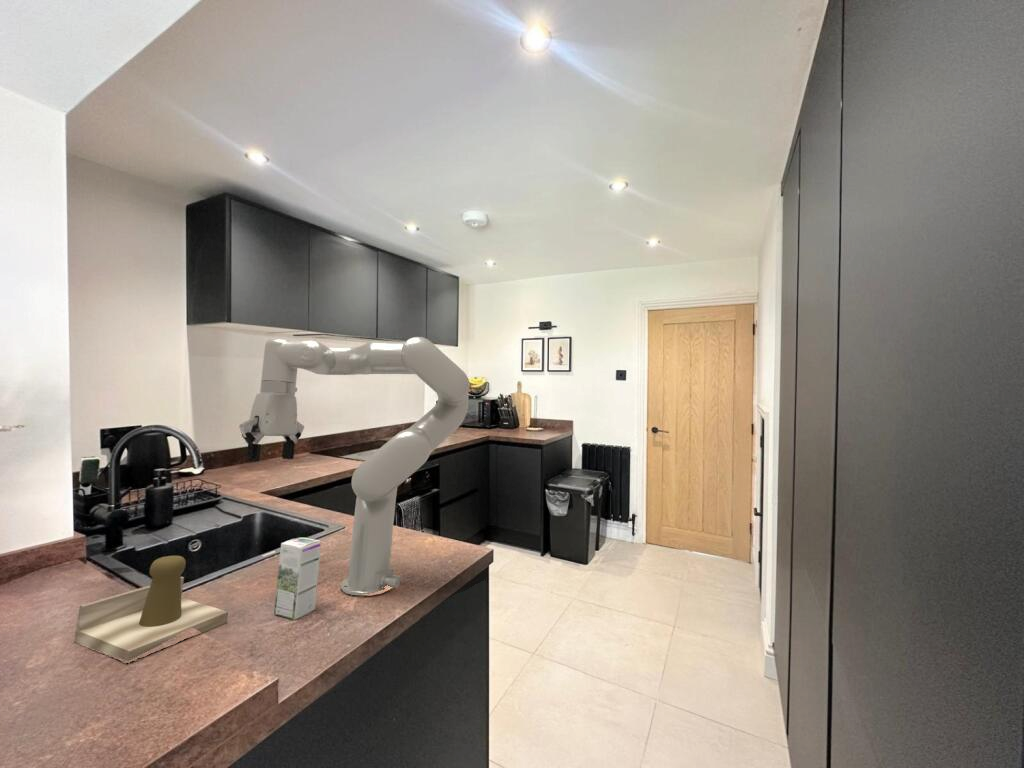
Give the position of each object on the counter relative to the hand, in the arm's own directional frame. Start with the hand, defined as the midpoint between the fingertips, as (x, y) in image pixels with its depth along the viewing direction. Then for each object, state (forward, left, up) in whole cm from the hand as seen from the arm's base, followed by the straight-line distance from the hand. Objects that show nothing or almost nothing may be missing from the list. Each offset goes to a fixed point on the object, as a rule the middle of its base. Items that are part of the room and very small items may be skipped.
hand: (270, 459), depth 100 cm
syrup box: (-18, +5, -30) cm, 35 cm away
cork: (-3, +21, -28) cm, 35 cm away
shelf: (-3, +22, -30) cm, 37 cm away
